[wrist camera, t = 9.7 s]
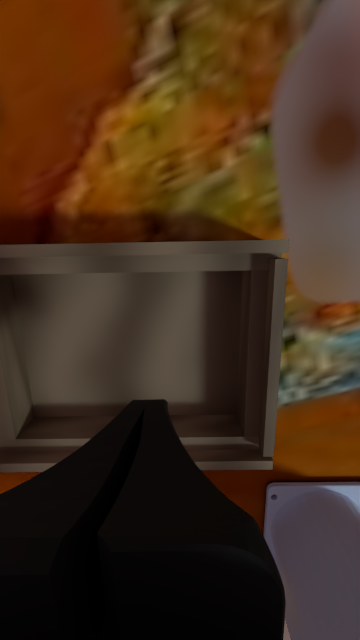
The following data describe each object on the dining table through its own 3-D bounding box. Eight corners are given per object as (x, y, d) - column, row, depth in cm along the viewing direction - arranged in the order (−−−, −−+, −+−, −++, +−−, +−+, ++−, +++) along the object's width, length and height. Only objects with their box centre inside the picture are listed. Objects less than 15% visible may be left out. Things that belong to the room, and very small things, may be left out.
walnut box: (265, 241, 18) (289, 239, 14) (255, 428, 21) (272, 469, 17) (-11, 246, 18) (-65, 245, 14) (21, 430, 21) (-16, 472, 17)
